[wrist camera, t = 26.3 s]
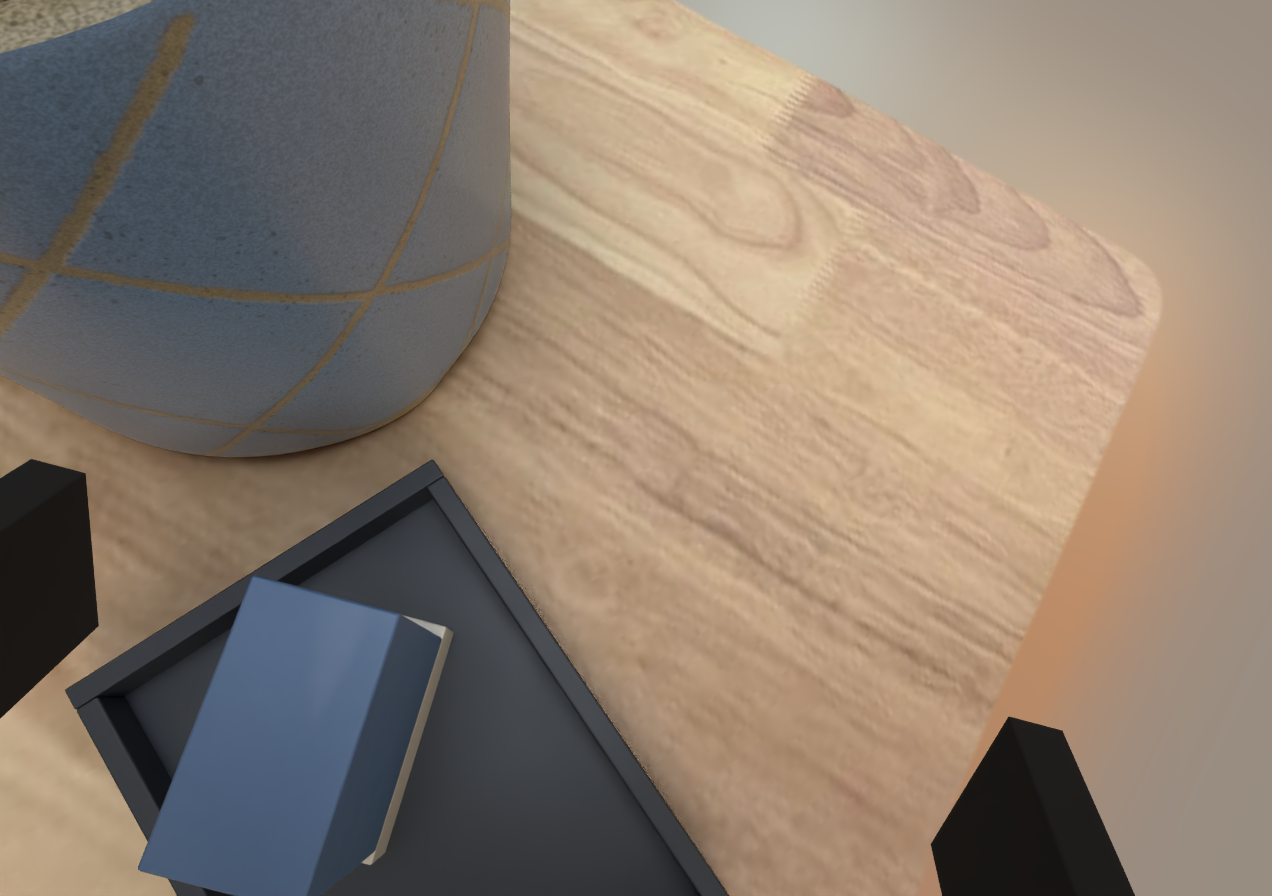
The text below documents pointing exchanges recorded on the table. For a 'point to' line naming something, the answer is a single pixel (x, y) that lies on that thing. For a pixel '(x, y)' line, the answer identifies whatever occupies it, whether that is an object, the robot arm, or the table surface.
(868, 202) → the table surface
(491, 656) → the tray
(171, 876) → the eraser
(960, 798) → the robot arm
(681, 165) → the table surface
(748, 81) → the table surface
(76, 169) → the planter
